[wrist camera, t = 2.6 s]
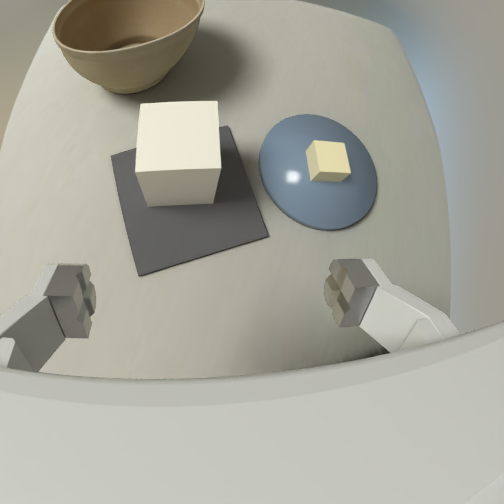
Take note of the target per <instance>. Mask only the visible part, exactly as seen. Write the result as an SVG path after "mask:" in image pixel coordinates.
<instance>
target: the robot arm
mask: <svg viewBox="0 0 504 504" xmlns="http://www.w3.org/2000/svg"><path fill="white" fill-rule="evenodd" d="M329 270H330V272H331V275H330V276H329V277H328V278H327V279H326V280H325V284H324V297H325V301H326V303H327V305H328V306H330V307H331V308H333V312H332V315H333V317H334V319H335V321H336V323H337V325H338V327H349V326H358V325H360V326H359V327H361V328H362V329H363V330H364V331H365V332H367V333H368V334H369V335H370V336H371V337H373V338H374V339H375V340H376V341H377V342H379V343H380V344H381V345H382V346H383V347H384V348H386V349H387V350H388V351H389V352H390V353H389V354H384V355H380V356H375V357H370V358H365V359H360V360H355V361H349V362H343V363H338V364H332V365H325V366H319V367H312V368H305V369H298V370H290V371H282V372H273V373H263V374H253V375H241V376H228V377H211V378H187V379H121V378H99V377H83V376H70V375H59V374H50V373H41V372H38V371H39V370H40V369H41V368H42V367H43V365H44V364H45V363H46V362H47V360H48V359H49V358H50V357H51V356H52V354H53V353H54V352H55V351H56V350H57V349H58V347H59V346H60V345H61V344H62V343H63V342H64V340H65V338H88V337H89V333H90V329H91V325H92V322H91V319H90V316H91V315H92V314H94V312H95V308H96V292H95V288H94V285H93V284H92V283H91V282H90V281H89V279H90V276H91V272H90V269H89V266H88V265H87V264H63V263H60V264H59V263H48V264H46V265H45V266H44V268H43V270H42V272H41V274H40V276H39V278H38V280H37V282H36V284H35V286H34V288H33V290H32V292H31V294H30V296H28V295H26V296H25V297H24V298H22V299H21V300H20V301H18V302H17V303H16V304H14V305H13V306H12V307H11V308H9V309H8V310H7V311H5V312H4V313H3V314H2V315H0V504H504V321H501V322H498V323H496V324H492V325H490V326H487V327H484V328H481V329H478V330H474V331H471V332H468V333H465V334H462V335H460V334H459V332H458V331H457V329H456V328H455V326H454V325H453V324H452V322H451V321H450V319H449V318H448V317H447V315H446V314H445V313H443V312H441V311H440V310H438V309H436V308H435V307H433V306H431V305H430V304H428V303H426V302H425V301H423V300H421V299H419V298H418V297H416V296H414V295H413V294H411V293H409V292H407V291H406V290H404V289H402V288H401V287H399V286H397V285H392V284H391V282H390V281H389V279H388V278H387V277H386V275H385V274H384V273H383V271H382V270H381V269H380V267H379V266H378V265H377V263H376V262H375V261H374V260H373V259H372V258H358V259H338V260H333V261H332V262H331V264H330V267H329Z"/></svg>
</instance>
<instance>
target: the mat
mask: <svg viewBox="0 0 504 504" xmlns="http://www.w3.org/2000/svg"><path fill="white" fill-rule="evenodd" d="M219 139H220V156H221V171H220V176H219V180H218V184H217V188H216V193H215V197H214V202H213V204H192V205H171V206H154V207H148V206H147V203H146V201H145V198H144V195H143V193H142V190H141V187H140V184H139V182H138V179H137V176H136V173H135V165H136V149H137V148H134V149H131V150H128V151H124V152H121V153H118V154H115V155H112V156H111V160H112V165H113V171H114V176H115V181H116V186H117V191H118V196H119V200H120V205H121V210H122V214H123V218H124V223H125V227H126V231H127V235H128V239H129V243H130V247H131V251H132V254H133V258H134V262H135V265H136V269H137V272H138V276H142V275H145V274H148V273H151V272H154V271H158V270H161V269H164V268H167V267H170V266H174V265H177V264H180V263H183V262H186V261H190V260H193V259H196V258H199V257H203V256H206V255H209V254H212V253H216V252H219V251H222V250H225V249H229V248H232V247H235V246H238V245H242V244H245V243H248V242H252V241H255V240H258V239H261V238H265V237H267V236H268V234H267V231H266V229H265V226H264V223H263V220H262V217H261V215H260V212H259V209H258V206H257V203H256V201H255V198H254V195H253V192H252V190H251V187H250V184H249V181H248V179H247V176H246V173H245V170H244V168H243V165H242V162H241V160H240V157H239V154H238V152H237V149H236V146H235V143H234V141H233V138H232V135H231V133H230V130H229V127H228V126H223V127H219Z"/></svg>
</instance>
